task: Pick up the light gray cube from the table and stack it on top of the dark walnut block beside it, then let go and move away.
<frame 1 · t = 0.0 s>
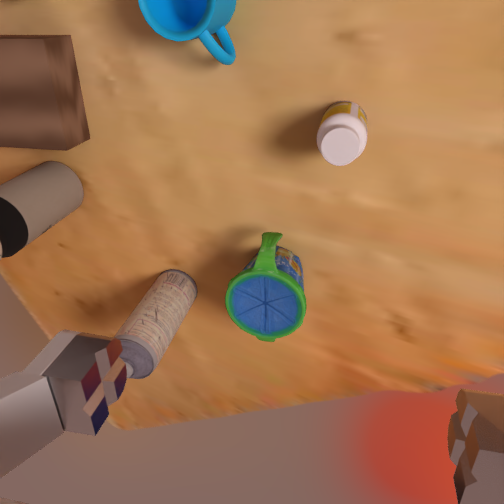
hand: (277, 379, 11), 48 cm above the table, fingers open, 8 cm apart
supplement bottle: (344, 123, 54), on the table
snack cup: (278, 266, 66), on the table
mug: (212, 11, 52), on the table
travel mug: (61, 185, 68), on the table
aerosol can: (177, 286, 72), on the table
walnut block: (39, 87, 61), on the table
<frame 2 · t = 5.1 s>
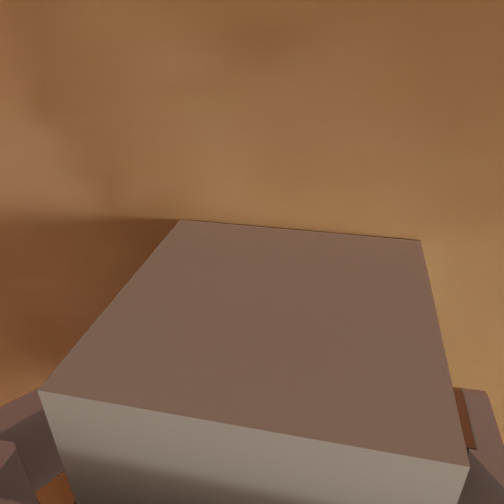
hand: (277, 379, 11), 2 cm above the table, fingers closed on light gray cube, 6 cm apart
light gray cube: (290, 325, 13), on the table, touching gripper
when the fingers open (9 cm above the table, at t = 12.0 s): light gray cube stays where it is, point 6 cm above the table.
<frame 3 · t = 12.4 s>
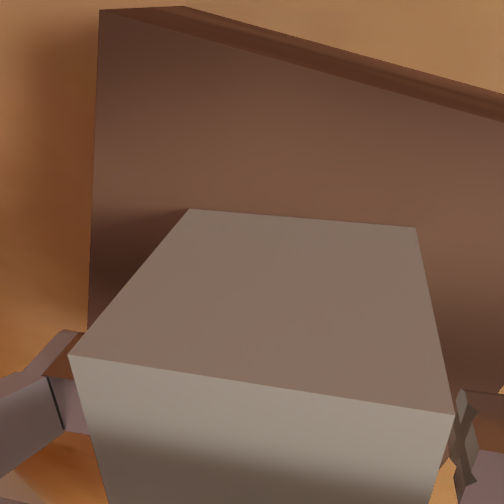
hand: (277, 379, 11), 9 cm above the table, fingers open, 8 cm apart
light gray cube: (292, 309, 13), point 6 cm above the table
walnut block: (312, 222, 18), on the table
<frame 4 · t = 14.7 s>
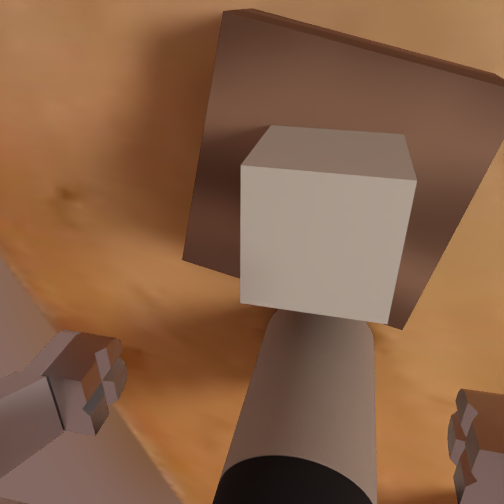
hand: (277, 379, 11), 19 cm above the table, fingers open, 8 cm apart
light gray cube: (329, 191, 22), point 6 cm above the table
travel mug: (319, 337, 34), on the table
walnut block: (332, 155, 27), on the table
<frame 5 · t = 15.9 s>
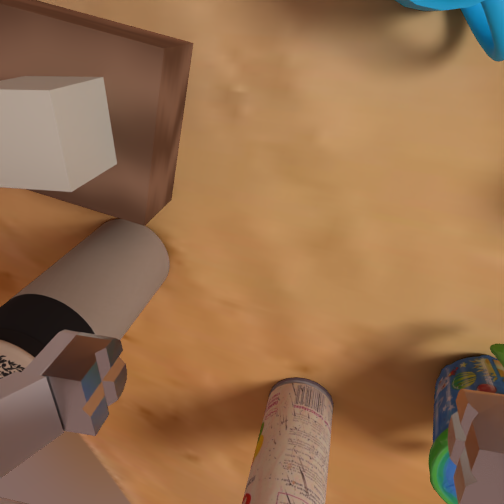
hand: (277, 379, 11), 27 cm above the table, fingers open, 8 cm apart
light gray cube: (72, 121, 32), point 6 cm above the table, touching walnut block
snack cup: (477, 381, 42), on the table
travel mug: (133, 254, 44), on the table
aerosol can: (301, 400, 48), on the table
walnut block: (109, 106, 38), on the table, touching light gray cube
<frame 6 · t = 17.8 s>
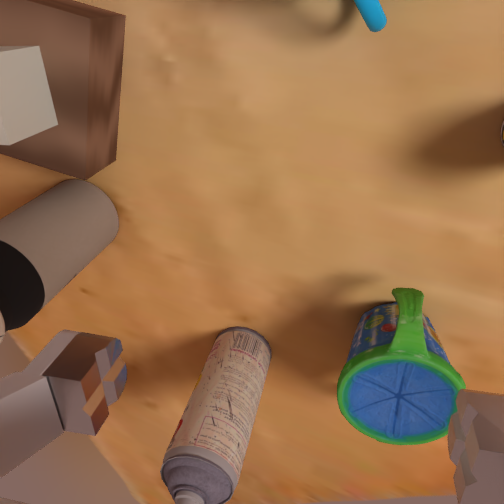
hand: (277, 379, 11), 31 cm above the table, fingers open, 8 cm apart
light gray cube: (16, 86, 37), point 6 cm above the table, touching walnut block
snack cup: (393, 327, 47), on the table
travel mug: (86, 212, 48), on the table
aerosol can: (243, 348, 53), on the table
walnut block: (56, 73, 42), on the table, touching light gray cube
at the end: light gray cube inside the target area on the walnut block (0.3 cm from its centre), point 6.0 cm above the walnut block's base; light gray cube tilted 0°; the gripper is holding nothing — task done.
